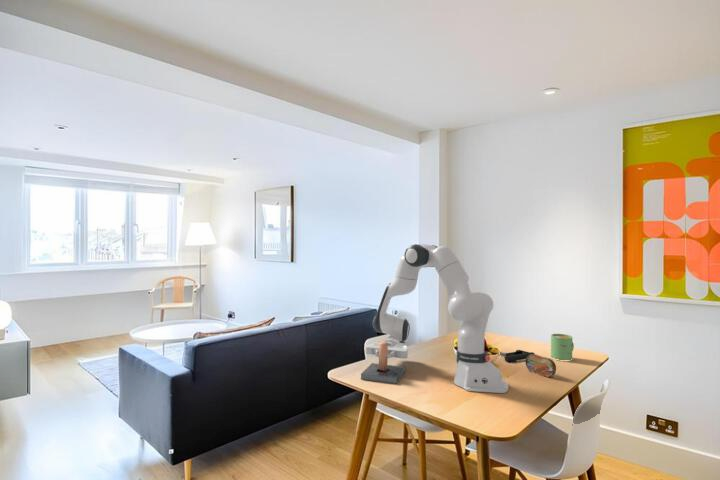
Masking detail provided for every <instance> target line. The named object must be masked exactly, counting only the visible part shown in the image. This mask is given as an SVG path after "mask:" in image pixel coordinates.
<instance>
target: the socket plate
mask: <svg viewBox="0 0 720 480" xmlns="http://www.w3.org/2000/svg"><path fill="white" fill-rule="evenodd" d="M405 370H406V367H405V366H400V365H398V366H397V365H389V364H387V370H386V371H381V370H379V363H374V362H371V364H369V366H367V367H366V368H365V369H364V370H363V371H362V372H361V373H360V380H365V381H372V382H376V383H377V382H378V383H386V384H393V385H397V383H398V382H399V381H400V380H401V378H402V377H403V376H404V374H405V372H406V371H405Z"/></svg>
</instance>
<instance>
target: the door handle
mask: <svg viewBox="0 0 720 480" xmlns="http://www.w3.org/2000/svg"><path fill="white" fill-rule="evenodd" d="M499 352H500V355H501V357H503V356H504V357H503V358H504V361H505V362H507V363H511V362H520V361H519V360H523V361H526V360H525V359H526V357H527V356H528V355H530V354H535V352H533V351H532V352H529V351H526V350H521V349H516V350H515V351H511V352H502V351H499ZM500 355H499V356H500Z"/></svg>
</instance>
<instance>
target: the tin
mask: <svg viewBox="0 0 720 480" xmlns="http://www.w3.org/2000/svg"><path fill="white" fill-rule="evenodd" d="M524 361H525V367H526V369H528V371H529V372H531V373H533V372H534V374H536V373H537V374H536V375H539V374H540V375H539V376H542V375H543V377H545V376H546V377H545V378H549V377H553V376H555V374H556V373H557V372H556V371H557V365H556V363H555V361H554V359H552V358H551V357H547V356H543V355H538V354H537V353H536V354H530V355H528V356H527V357H526V360H524Z"/></svg>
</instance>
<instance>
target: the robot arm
mask: <svg viewBox="0 0 720 480" xmlns="http://www.w3.org/2000/svg"><path fill="white" fill-rule="evenodd" d="M433 267H434V268H435V270H436V272H437V274H438V275H439V278H440V280H441V281H442V283H443V285H444V287H445V289H446V292H447V295H448V305H447V311H448V313H449V315H450V317H451V318H452V319H454V320H456V321H461V322H462V323H461V326H460V327H459V329H458V331H457V349H456V355H455V356H456V358H455V359H456V369H455V375H454V379H453V384H454V385H456V386H458V387H460V388H462V389H464V390H466V391H468V392H479V393H480V392H481V393H492V394H493V393H494V394H495V393H496V394H506V393H507V392H508V391H509V384H508V382H507V381H506V380H504V377H503V374H502V372H501V370H500V369H499V368H498V367H497V366H496V365H495V364H493V363H492V362H491V357H490V354H489V352H487V351H485V335H486V330H487V329H486V328H487V324H488V320H489V317H490V315H491V313H492V310H493V309H494V301H493V298H492V297H491V296H490V295H489V294H487V293H485V292H479V291H477V292H472V291H471V289H470V285H469V281H470V279H469V278H470V277H469V275H468V273H467V272H466V270H465V268H464V266H463V264H462V263H461V261H460V260H459V259H458V257H457V256H456V254H455V253H454V252H453V250H452V249H451V248H450V247H448V246H446V245H440V246H437V245H433V244H426V243H423V244H422V243H420V244H411V245H409V246H408V247H407V248H406V249H405V251H404V254H403V255H402V256H400V259H399V260H398V264H397V268H396V271H395V276H394V279H393V280H392V282H389V283H388V284H387V286H386V287H385V289H384V292H383V295H382V298H381V300H380V303H379V306H378V309H377V311H376V314H375V316H374V318H373V320H372V327H373V329H374V330H375V332H376V333H381V334H385V335H386V334H387V335H390V336H388V337H387V338H386V339H385V340H384V341H383V342H387V343H388V354H387V358H388V359H391V358H396V359H397V358H399V359H408V358H409V343H408V342H406V340H407V339H408V338H409V334H410V329H411V327H410V323H409V321H408V320H407V318H404V317H400V316H395V315H393V314H389V313H387V310H388V308H389V305H390V302H391V299H392V298H393V297H398V296H404V295H409V294H410V293H412V292H414V290H415V289H416V287H417V284H418V279H419V272H420V270H421V269H422V268H433ZM365 354H367V355H372V356H375V357H378V358H379V343H369V344H367V345H366V346H365Z"/></svg>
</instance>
